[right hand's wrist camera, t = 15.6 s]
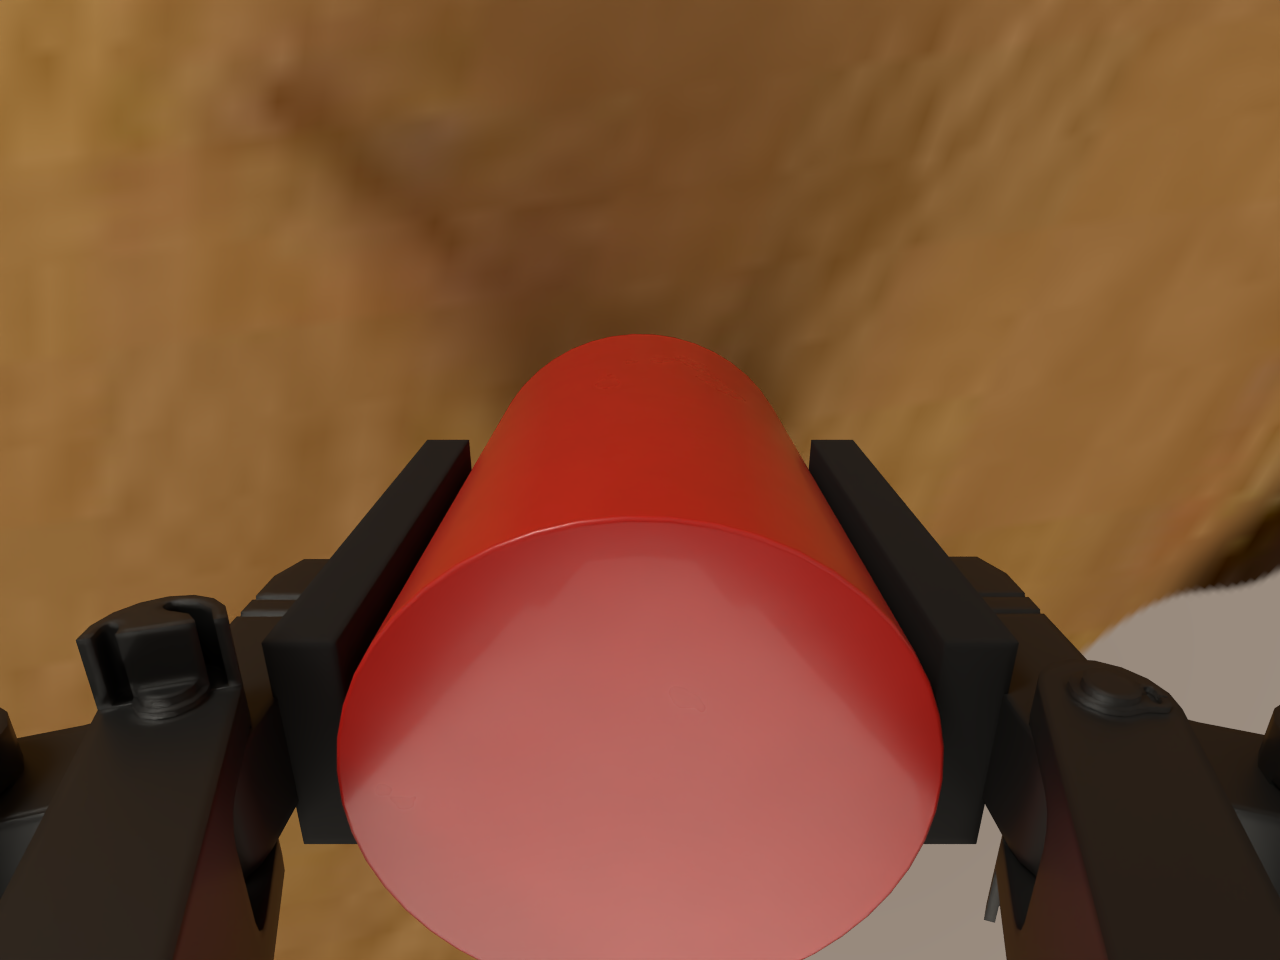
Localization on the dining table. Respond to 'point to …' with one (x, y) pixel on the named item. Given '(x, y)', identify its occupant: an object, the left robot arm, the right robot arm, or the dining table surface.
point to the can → (640, 686)
